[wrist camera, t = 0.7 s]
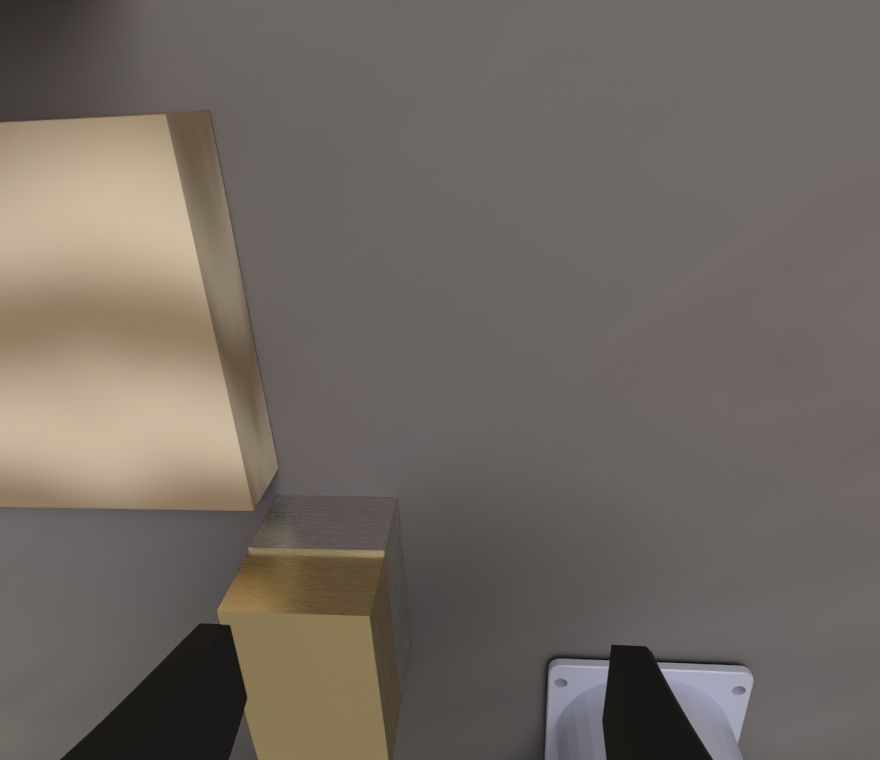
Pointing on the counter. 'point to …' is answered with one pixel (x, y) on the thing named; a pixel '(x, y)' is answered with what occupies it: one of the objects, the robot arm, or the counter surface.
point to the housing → (322, 628)
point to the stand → (124, 321)
